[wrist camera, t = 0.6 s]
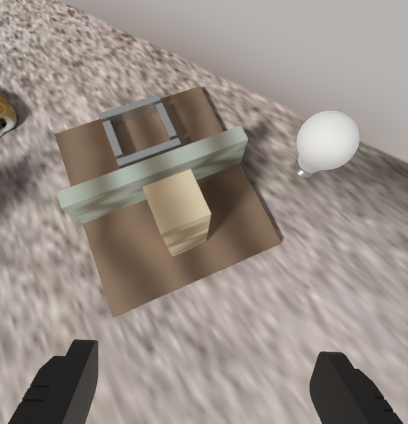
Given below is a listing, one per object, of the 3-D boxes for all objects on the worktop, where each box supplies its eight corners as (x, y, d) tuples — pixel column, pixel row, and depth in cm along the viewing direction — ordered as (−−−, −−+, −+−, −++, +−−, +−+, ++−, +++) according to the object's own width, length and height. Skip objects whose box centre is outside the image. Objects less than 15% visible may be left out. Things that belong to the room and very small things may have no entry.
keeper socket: (159, 103, 41) (158, 94, 39) (181, 151, 39) (181, 143, 37) (103, 122, 40) (98, 113, 38) (122, 173, 37) (118, 166, 35)
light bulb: (275, 186, 39) (305, 143, 28) (282, 145, 41) (313, 91, 30) (323, 197, 38) (371, 158, 28) (328, 155, 40) (374, 104, 30)
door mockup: (200, 90, 43) (201, 52, 36) (279, 244, 36) (298, 231, 29) (58, 138, 40) (30, 105, 33) (115, 316, 33) (94, 320, 26)
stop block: (192, 210, 36) (190, 168, 25) (206, 242, 35) (211, 213, 23) (159, 223, 35) (142, 187, 24) (172, 256, 34) (160, 234, 23)
